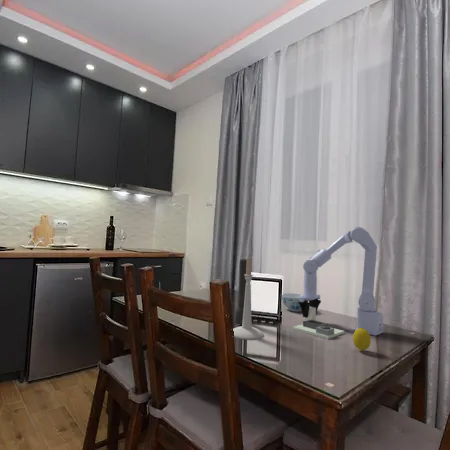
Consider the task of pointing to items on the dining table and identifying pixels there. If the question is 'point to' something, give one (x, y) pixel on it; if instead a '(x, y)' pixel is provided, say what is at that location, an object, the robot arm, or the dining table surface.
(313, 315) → the plug
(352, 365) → the dining table surface
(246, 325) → the candlestick
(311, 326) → the board
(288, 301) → the chinaware
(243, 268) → the flashlight
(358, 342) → the lemon
